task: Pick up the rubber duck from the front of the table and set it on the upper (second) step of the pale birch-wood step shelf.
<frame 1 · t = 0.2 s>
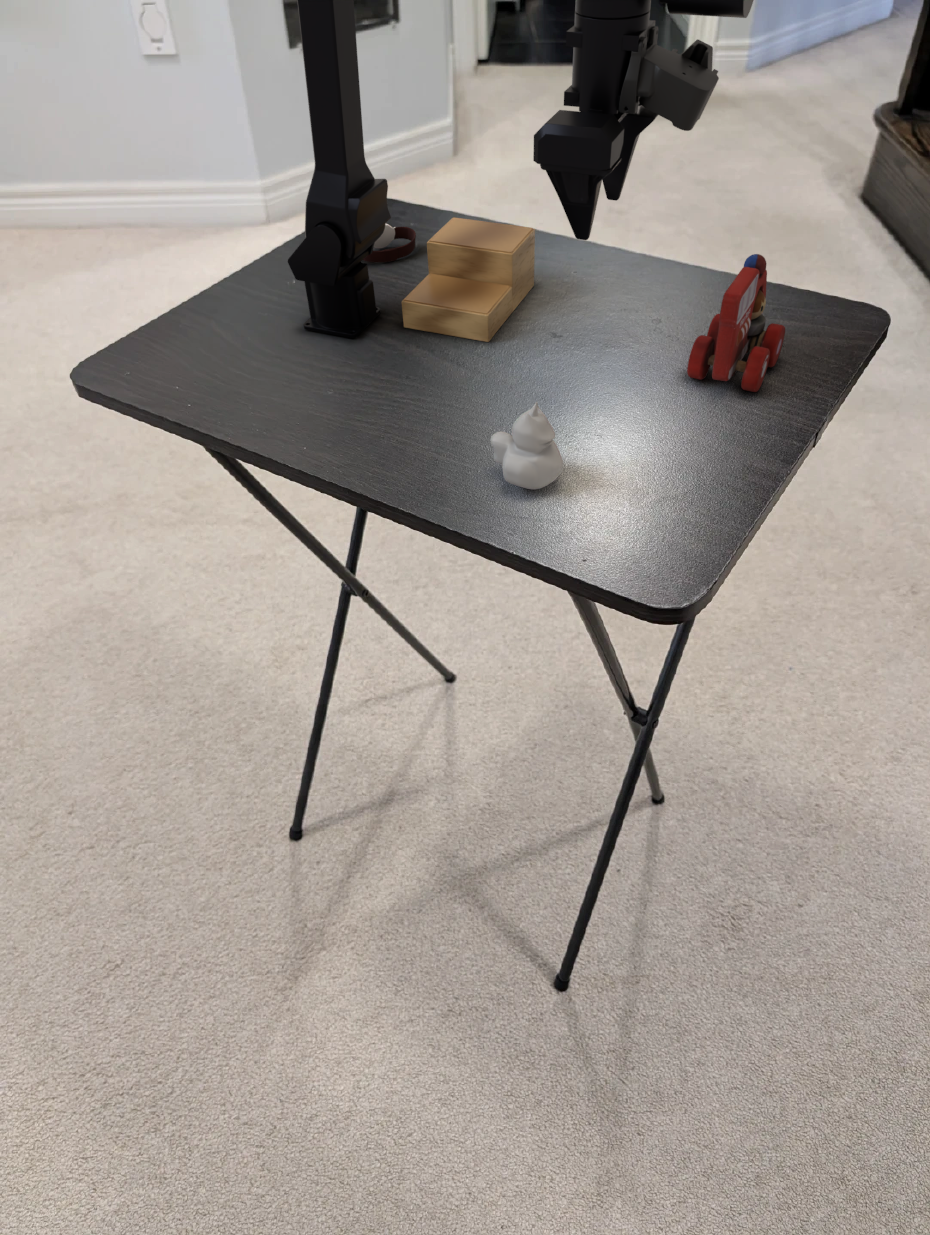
hand: (598, 218, 79), 15 cm above the table, tool pointing down, fingers open, 9 cm apart
watch: (387, 257, 110), on the table
toy fire truck: (732, 371, 88), on the table
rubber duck: (525, 481, 77), on the table
step shelf: (470, 306, 100), on the table
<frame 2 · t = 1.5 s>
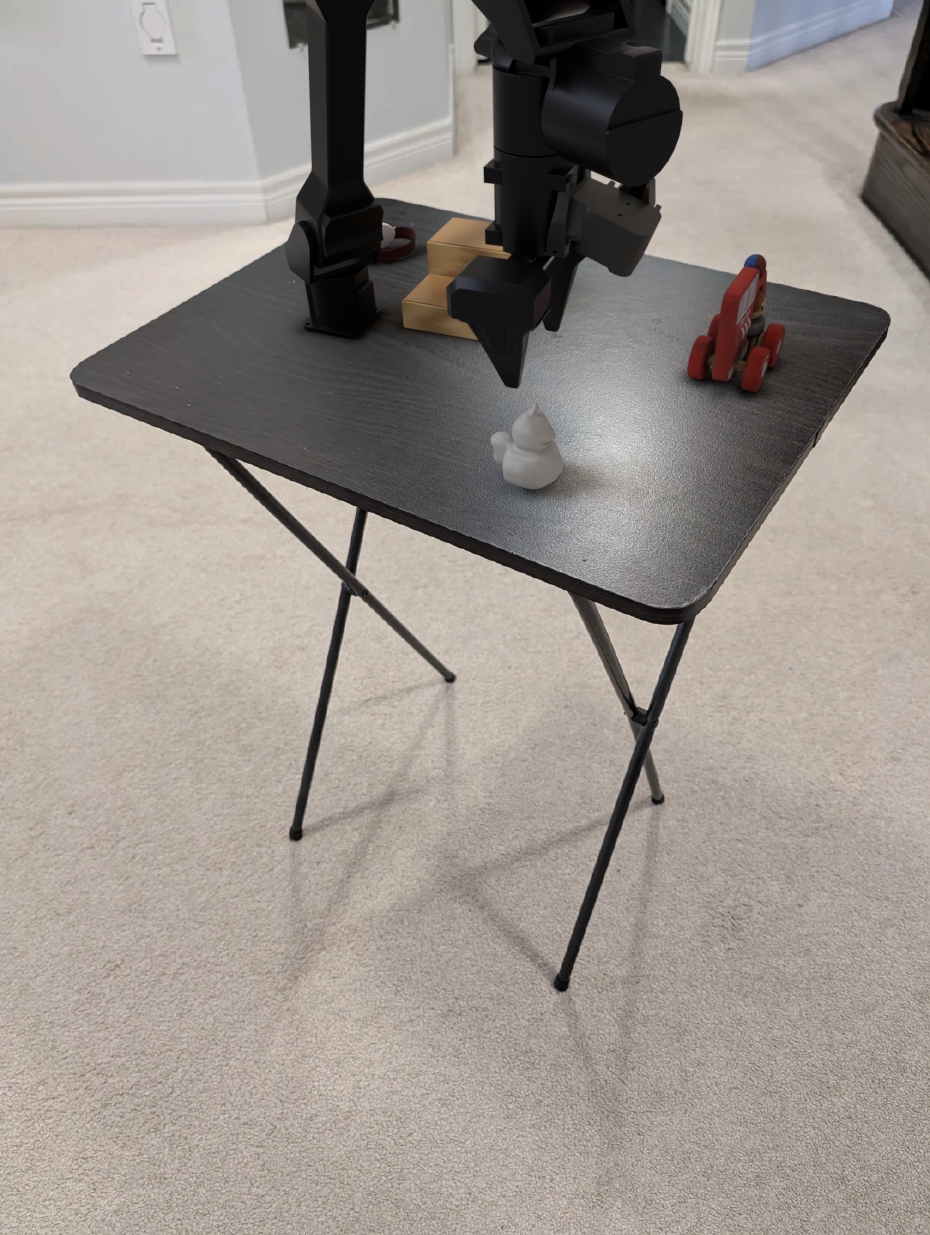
hand: (533, 357, 70), 11 cm above the table, tool pointing down, fingers open, 9 cm apart
nothing on the table moved.
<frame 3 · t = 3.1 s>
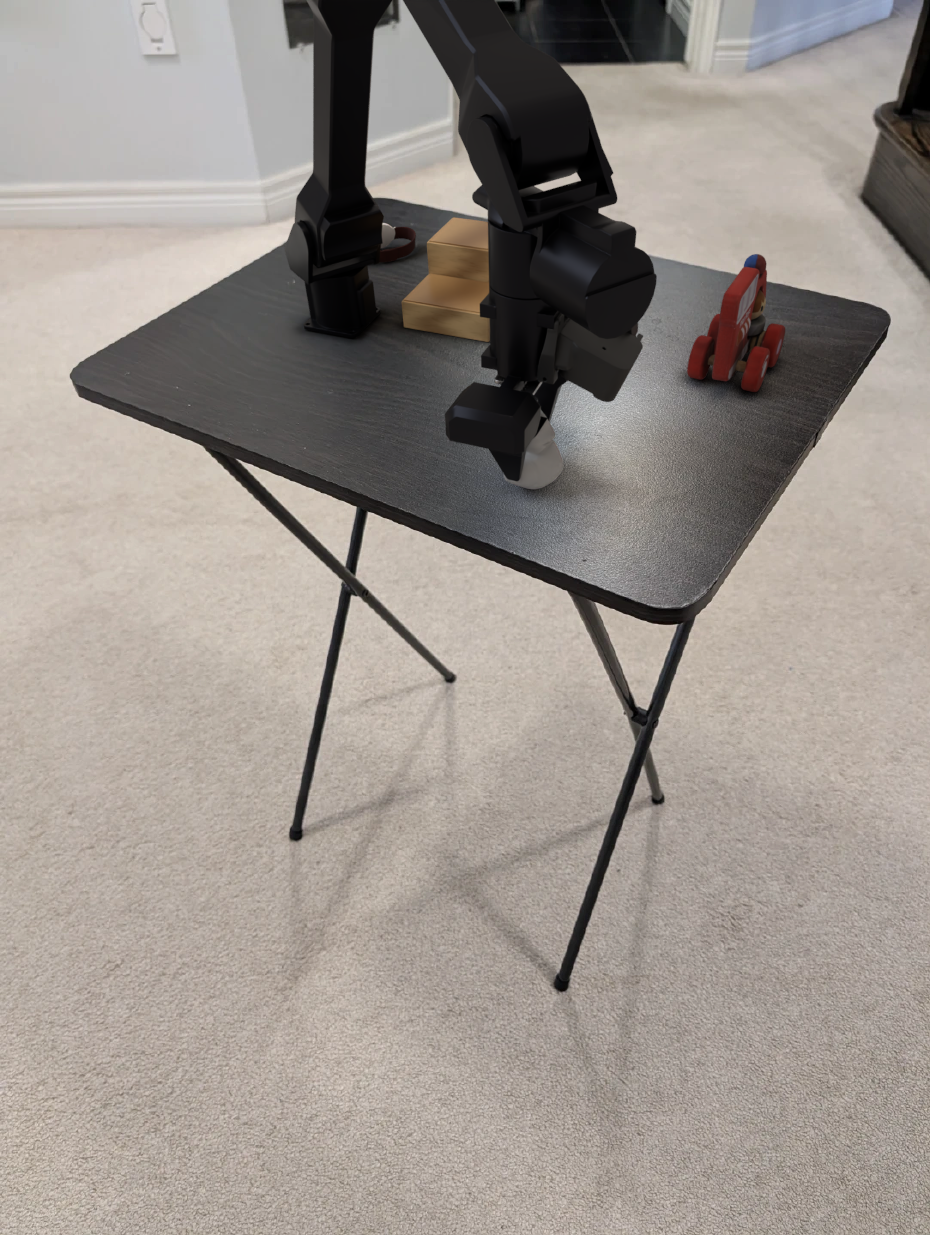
hand: (525, 460, 75), 2 cm above the table, tool pointing down, fingers closed on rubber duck, 5 cm apart
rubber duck: (525, 481, 77), on the table, touching gripper
everything else where it was.
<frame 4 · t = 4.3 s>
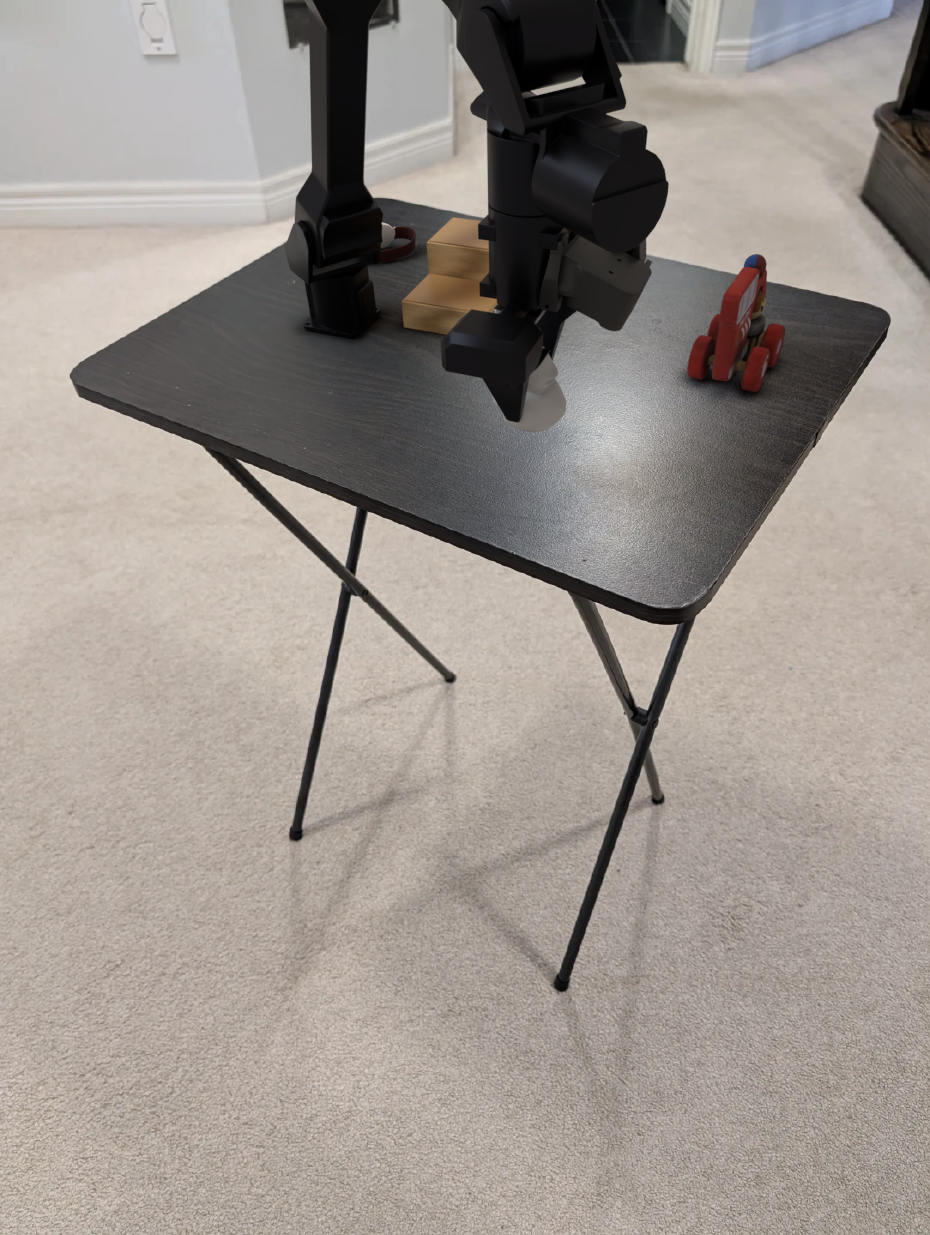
hand: (526, 401, 71), 8 cm above the table, tool pointing down, fingers closed on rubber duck, 5 cm apart
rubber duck: (526, 425, 73), point 5 cm above the table, touching gripper
everything else where it was.
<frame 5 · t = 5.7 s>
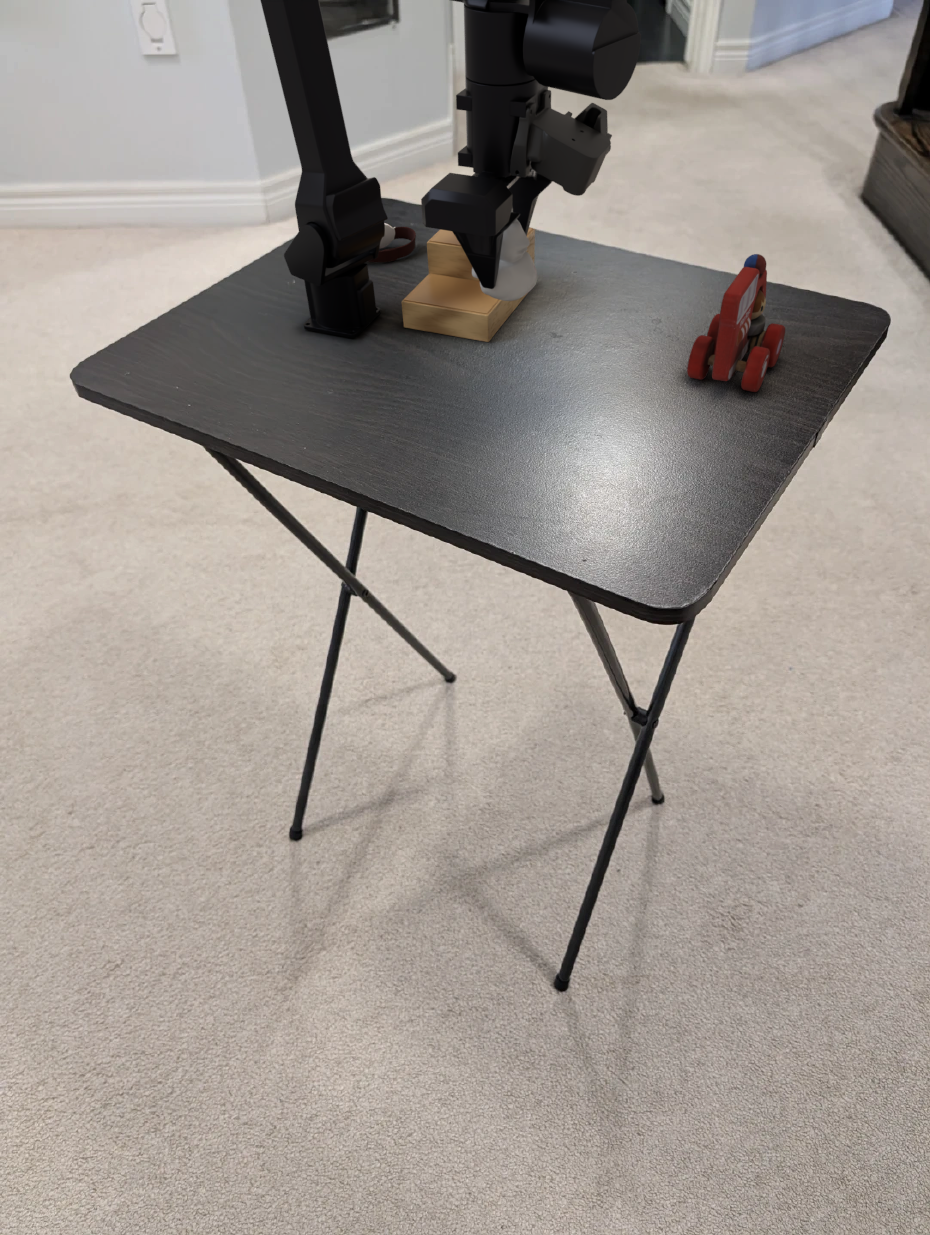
hand: (501, 273, 79), 12 cm above the table, tool pointing down, fingers closed on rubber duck, 5 cm apart
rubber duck: (502, 297, 81), point 9 cm above the table, touching gripper
everything else where it was.
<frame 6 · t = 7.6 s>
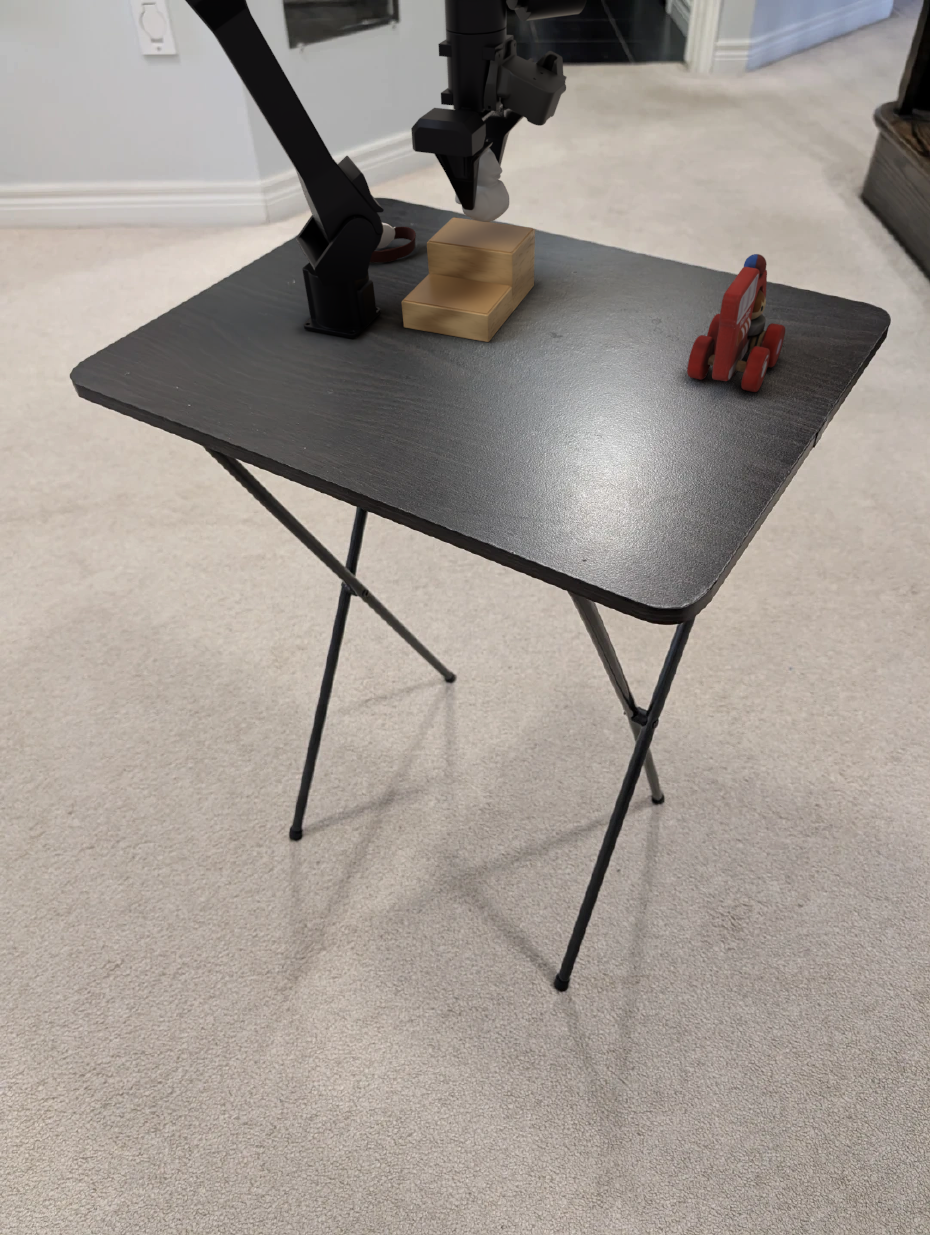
hand: (479, 199, 94), 10 cm above the table, tool pointing down, fingers closed on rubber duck, 5 cm apart
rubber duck: (480, 220, 96), point 8 cm above the table, touching gripper
everything else where it was.
when the fingers open (9 cm above the table, at t = 8.6 s): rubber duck stays where it is, resting on step shelf.
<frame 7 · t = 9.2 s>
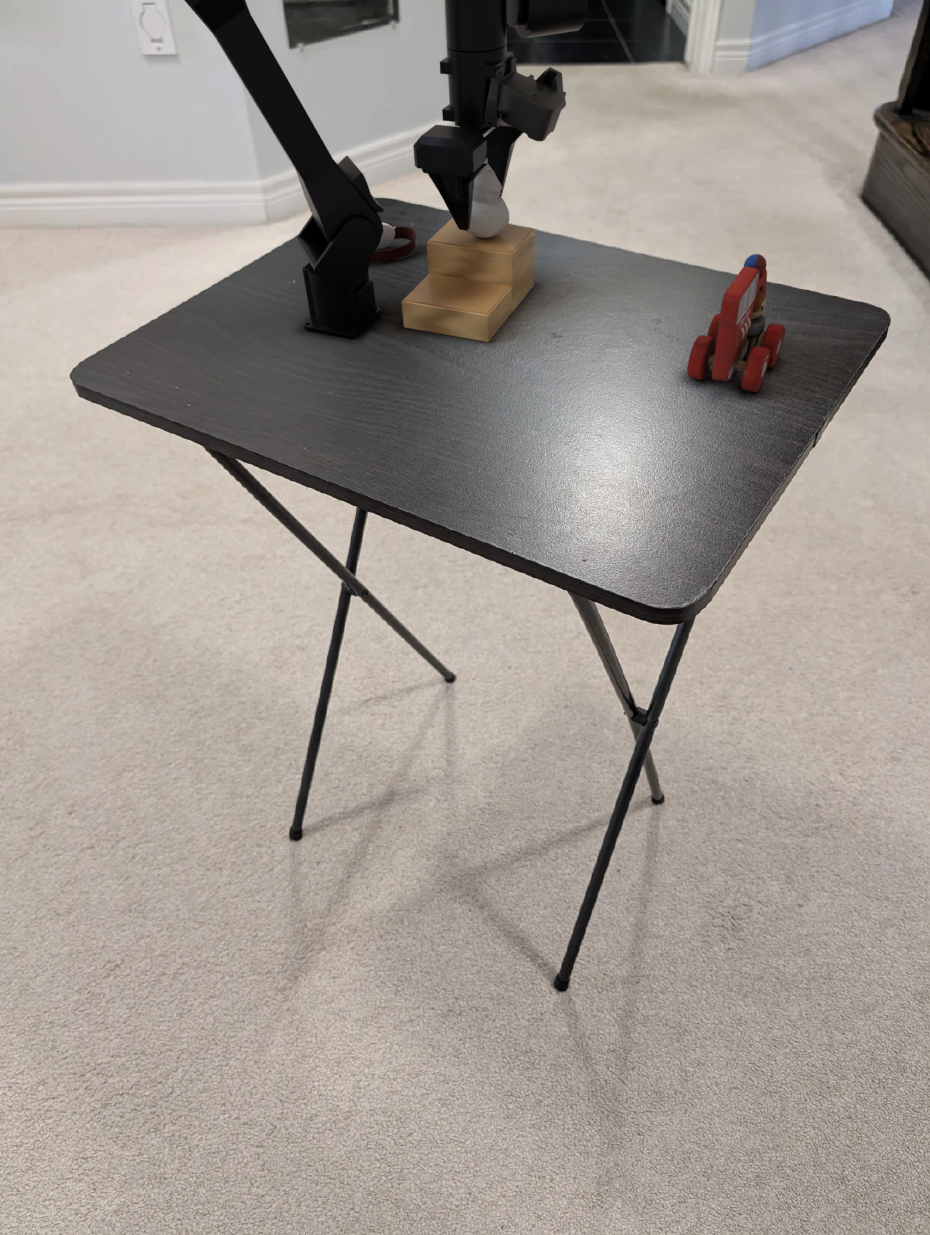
hand: (480, 213, 96), 9 cm above the table, tool pointing down, fingers open, 9 cm apart
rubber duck: (481, 236, 97), point 6 cm above the table, touching step shelf
everything else where it was.
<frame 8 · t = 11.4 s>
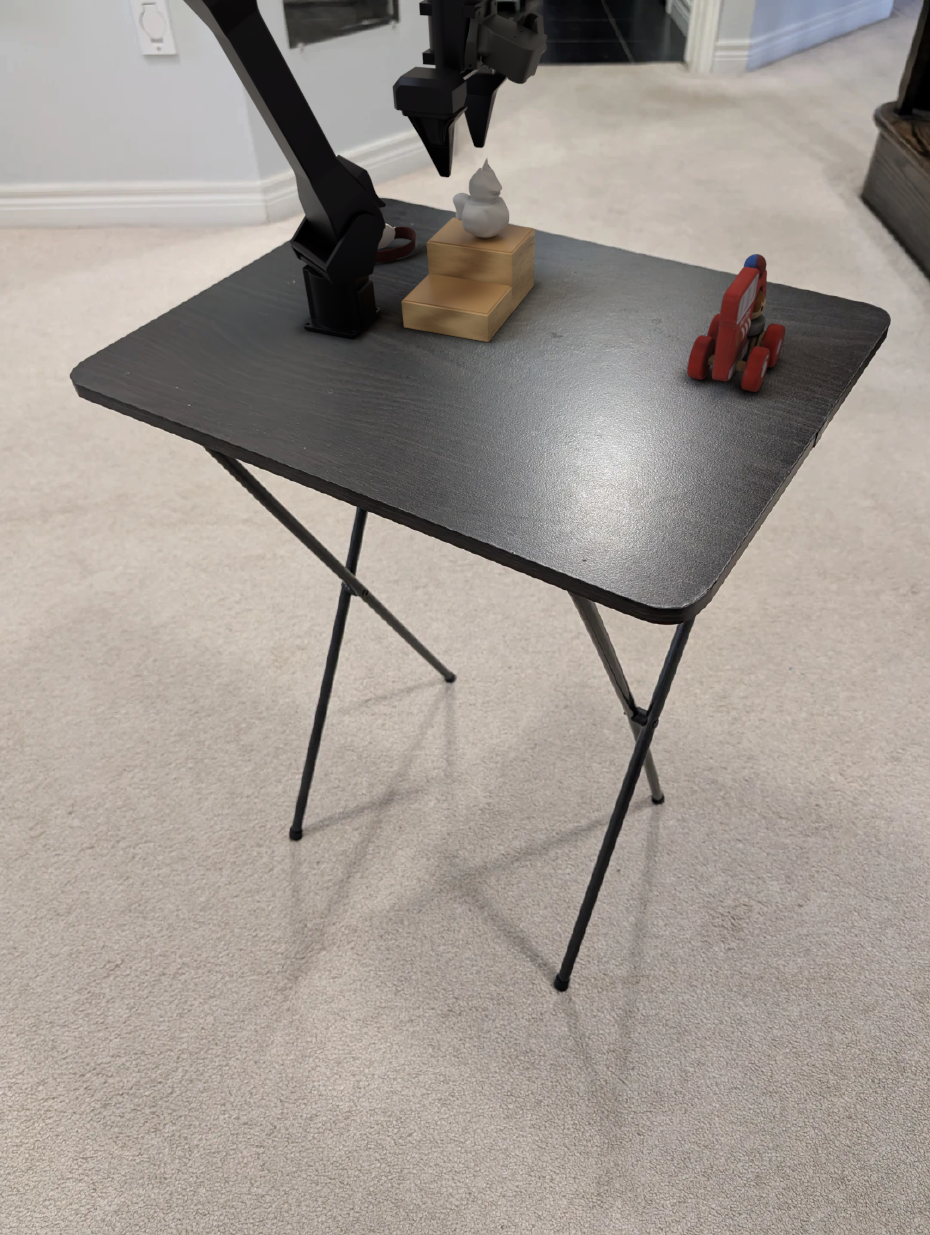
hand: (462, 161, 95), 13 cm above the table, tool pointing down, fingers open, 9 cm apart
nothing on the table moved.
at the end: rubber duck inside the target area on the step shelf (0.0 cm from its centre), point 6.5 cm above the step shelf's base; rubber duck tilted 0°; the gripper is holding nothing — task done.
